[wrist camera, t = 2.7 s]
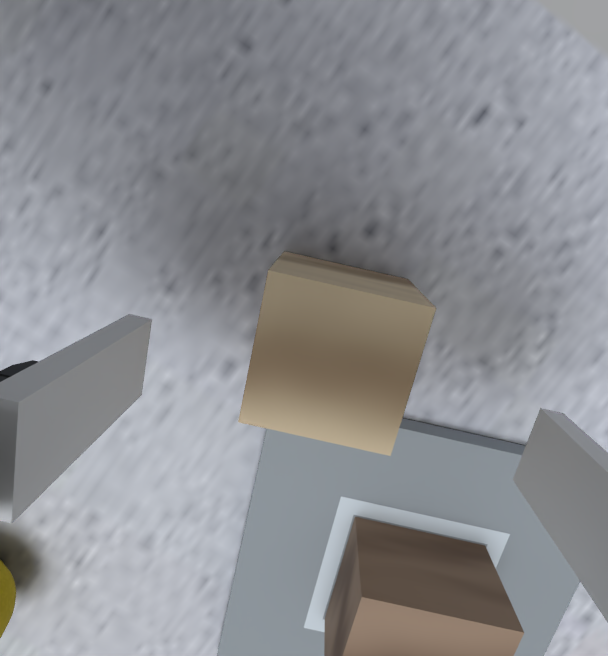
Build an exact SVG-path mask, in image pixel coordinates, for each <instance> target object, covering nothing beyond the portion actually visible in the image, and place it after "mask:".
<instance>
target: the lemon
mask: <svg viewBox="0 0 608 656" xmlns="http://www.w3.org/2000/svg"><path fill="white" fill-rule="evenodd" d="M15 598H16V587H15V582H14V578H13V576H12V574H11V572H10V571H9V569H8V568H7V567H6V566H5V565H4V563H3V561H1V560H0V638H1V636H2V634H3V632H4V631H5V629H6V627H7V625H8V623H9V621H10V618H11V616H12V614H13V610H14V605H15Z"/></svg>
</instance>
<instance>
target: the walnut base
mask: <svg viewBox="0 0 608 656" xmlns="http://www.w3.org/2000/svg"><path fill="white" fill-rule="evenodd" d="M523 635H524V631H523V629H522V626H521V624H520V622H519V620H518V617H517V615H516V613H515V611H514V609H513V606H512V604H511V602H510V600H509V597H508V595H507V593H506V591H505V589H504V586H503V584H502V582H501V580H500V577H499V575H498V573H497V571H496V569H495V566H494V564H493V562H492V560H491V557H490V555H489V553H488V551H487V549H486V546H485V545H480V544H476V543H471V542H467V541H462V540H458V539H453V538H449V537H444V536H440V535H435V534H431V533H426V532H422V531H417V530H413V529H408V528H404V527H399V526H395V525H390V524H386V523H381V522H377V521H372V520H368V519H363V518H359V517H355V519H354V522H353V525H352V529H351V532H350V535H349V539H348V542H347V545H346V549H345V552H344V555H343V559H342V562H341V565H340V569H339V572H338V575H337V579H336V582H335V585H334V589H333V592H332V595H331V599H330V602H329V605H328V609H327V612H326V615H325V633H324V656H514V654H515V652H516V650H517V648H518V645H519V643H520V641H521V639H522V637H523Z"/></svg>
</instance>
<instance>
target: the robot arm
mask: <svg viewBox="0 0 608 656" xmlns="http://www.w3.org/2000/svg"><path fill="white" fill-rule="evenodd" d="M151 322H152V319H149V318H144V317H140V316H135V315H131V314H128V315H127V316H125V317H123V318H121V319H119V320H117V321H115V322H113V323H111V324H109V325H108V326H106V327H104V328H102V329H100V330H98V331H96V332H94V333H92V334H90V335H89V336H87V337H85V338H83V339H81V340H79V341H77V342H75V343H73V344H72V345H70V346H68V347H66V348H64V349H62V350H60V351H58V352H56V353H54V354H53V355H51V356H49V357H47V358H45V359H43V360H41V361H39V362H37V361H29V362H24V363H20V364H15V365H12V366H10V367H8V368H6V369H4V370H2V371H0V521H3V522H7V523H13V522H14V521H15V520H16V519H17V518H18V517H19V516H20V515H21V514H22V513H23V512H24V511H25V510H26V509H27V508H28V507H29V506H30V505H31V504H32V503H33V502H34V501H35V500H36V499H37V498H38V497H39V496H40V495H41V494H42V493H43V492H44V491H45V490H46V489H47V488H48V487H49V486H50V485H51V484H52V483H53V482H54V481H55V480H56V479H57V478H58V477H59V476H60V475H61V474H62V473H63V472H64V471H65V470H66V469H67V468H68V467H69V466H70V465H71V464H72V463H73V462H74V461H75V460H76V459H77V458H78V457H79V456H80V455H81V454H82V453H83V452H84V451H85V450H86V449H87V448H88V447H89V446H90V445H91V444H92V443H93V442H95V441H96V440H97V439H98V438H99V437H100V436H101V435H102V434H103V433H104V432H105V431H106V430H107V429H108V428H109V427H110V426H111V425H112V424H113V423H114V422H115V421H116V420H117V419H118V418H119V417H120V416H121V415H122V414H123V413H124V412H125V411H126V410H127V409H128V408H129V407H130V406H131V405H132V404H133V403H134V402H135V401H136V400H137V399H138V398H139V397H140V396H141V395H142V389H143V381H144V374H145V366H146V359H147V352H148V344H149V337H150V330H151ZM513 481H514V483H515V484H516V486H517V487H518V489H519V490H520V492H521V493H522V495H523V496H524V498H525V499H526V501H527V502H528V504H529V505H530V507H531V508H532V510H533V511H534V513H535V514H536V516H537V517H538V519H539V520H540V522H541V523H542V525H543V526H544V528H545V529H546V531H547V532H548V534H549V535H550V537H551V538H552V540H553V541H554V543H555V544H556V546H557V547H558V549H559V550H560V552H561V553H562V555H563V556H564V558H565V559H566V561H567V562H568V564H569V565H570V567H571V568H572V570H573V571H574V573H575V574H576V576H577V577H578V579H579V580H580V582H581V583H582V585H583V586H584V588H585V589H586V591H587V592H588V594H589V595H590V597H591V598H592V600H593V601H594V603H595V604H596V606H597V607H598V609H599V610H600V612H601V613H602V615H603V616H604V618H605V619H606V621H607V622H608V453H607V452H606V451H605V450H604V449H603V448H602V447H601V446H600V445H598V444H597V443H596V442H595V441H594V440H593V439H592V438H591V437H589V436H588V435H587V434H586V433H585V432H584V431H583V430H581V429H580V428H579V427H578V426H577V425H576V424H575V423H574V422H572V421H571V420H570V419H569V418H568V417H567V416H566V415H565V414H563V413H560V412H555V411H551V410H546V409H542V408H540V411H539V414H538V416H537V419H536V421H535V424H534V426H533V429H532V431H531V434H530V437H529V439H528V442H527V444H526V447H525V449H524V452H523V454H522V457H521V459H520V462H519V465H518V467H517V470H516V472H515V475H514V477H513Z"/></svg>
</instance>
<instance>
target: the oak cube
mask: <svg viewBox="0 0 608 656" xmlns="http://www.w3.org/2000/svg"><path fill="white" fill-rule="evenodd" d="M435 311H436V307H435V306H434V305H433V304H432V303H431V302H430V301H429V300H428V299H427V298H426V297H425V296H424V295H423V294H422V293H421V292H420V291H419V290H418V289H417V288H416V287H415V286H414V285H413V284H412V283H411V282H410V281H409V280H408V279H405V278H400V277H396V276H392V275H387V274H383V273H378V272H374V271H369V270H365V269H361V268H356V267H352V266H347V265H343V264H339V263H334V262H330V261H325V260H321V259H316V258H312V257H308V256H303V255H299V254H294V253H290V252H285V251H284V252H283V253H282V255H281V256H280V257H279V258H278V259H277V260H276V262H275V263H274V264H273V265H272V266H271V267H270V269H269V270H268V273H267V278H266V283H265V289H264V294H263V299H262V304H261V309H260V314H259V319H258V324H257V329H256V334H255V339H254V344H253V350H252V355H251V360H250V365H249V370H248V375H247V380H246V385H245V390H244V395H243V400H242V406H241V411H240V416H239V421H238V422H240V423H244V424H249V425H253V426H258V427H262V428H267V429H271V430H276V431H280V432H285V433H289V434H294V435H298V436H303V437H307V438H312V439H316V440H320V441H325V442H329V443H334V444H338V445H343V446H347V447H352V448H356V449H361V450H365V451H370V452H374V453H379V454H383V455H388V456H391V453H392V450H393V447H394V443H395V440H396V437H397V434H398V430H399V427H400V424H401V421H402V417H403V414H404V411H405V408H406V405H407V401H408V398H409V395H410V392H411V388H412V385H413V382H414V379H415V375H416V372H417V369H418V366H419V362H420V359H421V356H422V353H423V350H424V346H425V343H426V340H427V337H428V333H429V330H430V327H431V324H432V320H433V317H434V314H435Z"/></svg>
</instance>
